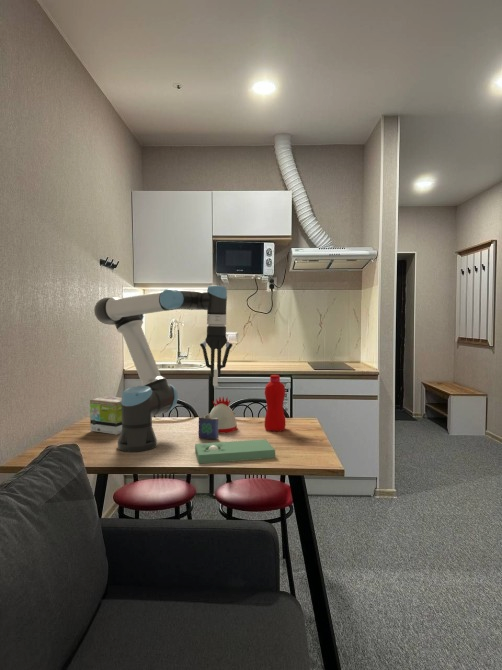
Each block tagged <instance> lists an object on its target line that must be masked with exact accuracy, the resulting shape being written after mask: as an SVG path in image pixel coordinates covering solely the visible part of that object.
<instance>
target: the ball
mask: <svg viewBox="0 0 502 670" xmlns="http://www.w3.org/2000/svg"><path fill="white" fill-rule="evenodd" d="M208 450H210V451H213V450H219V449H218V447H217V446H215V445H212V446H210V447H209V449H208Z"/></svg>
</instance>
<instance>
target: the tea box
mask: <svg viewBox="0 0 502 670" xmlns="http://www.w3.org/2000/svg"><path fill="white" fill-rule="evenodd" d="M121 400H122V397H116V396H106V395H104V396H100V397H97V398H93V399H90V400H89V413H90V415H89V417H90V419H89V420H90V432H98V433H104V434H111V435H116V436H117V435H120V433H121V430H122V405H121Z"/></svg>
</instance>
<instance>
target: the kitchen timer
mask: <svg viewBox="0 0 502 670" xmlns="http://www.w3.org/2000/svg"><path fill="white" fill-rule="evenodd" d="M221 398H222V399H221ZM228 399H229V398H228V396H226V399H225V398H224V396H222V397H221V396H219V398H218V399H217V398H216V399H215V401H216V403H215V402H214V400H212V402H213V408H212V409H211V411H210V413H209V414H210V415H209V416H210V418H218V420H219V421H218V434H219V433H220V434H221V433H222V434H224V433H230V432H234V431H237V429H238V427H237V426H238V424H237V419H236V417H235V412H234V411H233V410H232V408H231V407H230V406H229V405H230V404H231V400H232V399H230V400H229V401H228Z"/></svg>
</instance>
